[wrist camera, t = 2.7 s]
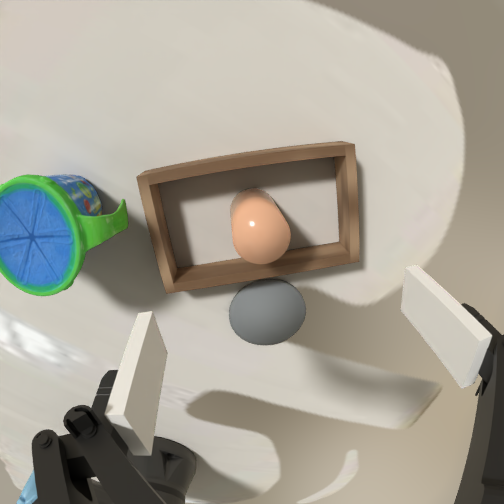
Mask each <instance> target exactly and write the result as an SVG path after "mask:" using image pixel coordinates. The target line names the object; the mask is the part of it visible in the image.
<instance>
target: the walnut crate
mask: <svg viewBox="0 0 504 504" xmlns="http://www.w3.org/2000/svg"><path fill="white" fill-rule="evenodd" d="M325 157H334V162H335V175H336V188H337V204H338V222H339V242H335V243H329V244H323V245H317V246H311V247H305V248H299V249H293V250H287V251H285V253H284V254H283V255H282V256H281V257H280V258H278V259H277V260H275V261H273V262H270V263H267V264H254V263H251V262H248V261H246V260H245V259H243V258H238V259H232V260H226V261H220V262H214V263H207V264H201V265H195V266H189V267H183V268H177V265H176V261H175V257H174V253H173V249H172V245H171V241H170V237H169V232H168V228H167V224H166V220H165V215H164V211H163V206H162V202H161V197H160V192H159V188H158V183H162V182H167V181H172V180H177V179H183V178H188V177H193V176H199V175H204V174H210V173H216V172H222V171H228V170H234V169H240V168H247V167H253V166H260V165H267V164H275V163H282V162H290V161H298V160H307V159H316V158H325ZM137 182H138V186H139V191H140V195H141V200H142V204H143V208H144V213H145V217H146V221H147V225H148V229H149V233H150V237H151V241H152V244H153V248H154V252H155V256H156V259H157V263H158V267H159V270H160V274H161V277H162V281H163V284H164V288H165V291H166V294H167V293H174V292H181V291H188V290H194V289H201V288H207V287H213V286H220V285H226V284H232V283H239V282H245V281H251V280H257V279H263V278H269V277H275V276H281V275H287V274H292V273H298V272H304V271H310V270H315V269H321V268H326V267H332V266H338V265H343V264H348V263H354V262H359V208H358V185H357V168H356V154H355V144H352V143H347V142H343V141H339V142H328V143H317V144H307V145H298V146H289V147H281V148H273V149H265V150H258V151H251V152H244V153H238V154H231V155H225V156H219V157H213V158H207V159H202V160H196V161H191V162H186V163H180V164H175V165H170V166H166V167H161V168H156V169H151V170H147V171H144V172H143V173H141V174H140V175H138V176H137Z"/></svg>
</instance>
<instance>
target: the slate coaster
mask: <svg viewBox="0 0 504 504" xmlns="http://www.w3.org/2000/svg"><path fill="white" fill-rule="evenodd" d="M305 314H306V307H305V302H304V299H303V297H302V295H301V294H300V292H299V291H298V290H297V289H296V288H295V287H294V286H293V285H291V284H289V283H287V282H285V281H282V280H278V279H263V280H258V281H255V282H252V283H250V284H248V285H247V286H245V287H244V288H242V289H241V290H240V291H239V292H238V293H237V294H236V295H235V297H234V298H233V300H232V302H231V305H230V309H229V319H230V324H231V326H232V328H233V330H234V332H235V333H236V334H237V335H238V336H239V337H240V338H242V339H243V340H245V341H247V342H249V343H252V344H257V345H272V344H277V343H280V342H282V341H285V340H286V339H288V338H290V337H291V336H293V335H294V334H295V333H296V332H297V331H298V330H299V328H300V327H301V325H302V323H303V321H304V319H305Z"/></svg>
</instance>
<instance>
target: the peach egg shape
mask: <svg viewBox="0 0 504 504" xmlns="http://www.w3.org/2000/svg"><path fill="white" fill-rule="evenodd" d="M230 214H231V225H232V236H233V244H234V247H235V249H236V251H237V253H238V254H239V255H240V256H241V257H242V258H243V259H245V260H246V261H248V262H251V263H254V264H267V263H270V262H273V261H275V260H277V259H278V258H280V257H281V256H282V255H283V254H284V253H285V251H286V250H287V248H288V246H289V244H290V239H291V232H290V228H289V225H288V223H287V222H286V220H285V218H284V217H283V215H282V214H281V212H280V210H279V209H278V207H277V205H276V204H275V202H274V201H273V199H272V198H271V196H270V195H269V194H268V193H266V192H265V191H263V190H260V189H256V188H251V189H246V190H244V191H242V192H240V193H239V194H238V195H236V197H235V198H234V199H233V201H232V204H231V208H230Z"/></svg>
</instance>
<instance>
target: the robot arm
mask: <svg viewBox="0 0 504 504" xmlns="http://www.w3.org/2000/svg"><path fill="white" fill-rule="evenodd" d="M401 311H402V313H403V314H404V315H405V316H406V317H407V319H408V320H409V321H410V322H411V324H412V325H413V326H414V327H415V329H416V330H417V331H418V332H419V334H420V335H421V336H422V337H423V338H424V340H425V341H426V342H427V344H428V345H429V346H430V348H431V349H432V350H433V351H434V353H435V354H436V355H437V357H438V358H439V359H440V361H441V362H442V363H443V365H444V366H445V367H446V368H447V370H448V371H449V373H450V374H451V375H452V376H453V378H454V379H455V381H456V382H457V383H458V385H459V386H460V387H461V389H463V388H465V387H467V386H470V385H472V384H474V383H475V380H476V378H477V376H478V374H479V375H480V376H481V377H482V381H481V383H480V385H479V387H478V390H477V392H476V394H475V395H476V396H477V395H478V393H479V398H478V405H477V411H476V417H475V423H474V428H473V434H472V439H471V443H470V448H469V453H468V457H467V461H466V465H465V469H464V472H463V476H462V480H461V483H460V487H459V490H458V493H457V496H456V499H455V503H454V504H504V335H501V334H500V333H499V332H498V331H497V330H496V329H495V328H494V327H493V326H492V325H491V324H490V323H489V322H488V321H487V320H485V319H484V317H483V316H482V315H480V314H479V313H478V312H477V311H476V310H475V309H474V308H473V307H471V306H469V305H467V304H465V303H464V304H460V303H458V301H456V300H455V299H454V298H453V297H452V296H451V295H450V294H449V293H448V292H447V291H446V290H445V289H443V288H442V287H441V286H440V285H439V284H438V283H437V282H436V281H435V280H433V279H432V278H431V277H430V276H429V275H428V274H427V273H426V272H424V271H423V270H422V269H421V268H420V267H419V266H417V265H413V266H409V267H405V273H404V284H403V294H402V304H401ZM167 354H168V353H167V350H166V347H165V345H164V342H163V339H162V336H161V334H160V331H159V328H158V325H157V322H156V320H155V317H154V314H153V311H150V312H142V313H138V316H137V318H136V321H135V324H134V327H133V329H132V332H131V335H130V338H129V341H128V343H127V346H126V349H125V352H124V355H123V358H122V361H121V364H120V367H119V370H109V371H108V372H107V373H106V374H105V375H104V377H103V378H102V380H101V382H100V385H99V389H98V391H97V396H95V399H94V402H93V405H92V408H90V407H89V406H86V405H78V406H76V407H73V408H72V409H70V410H69V411H68V412H67V413H66V415H65V417H64V420H63V422H64V426H65V427H66V429H67V430H68V431H69V432H70V434H67V435H62V436H58V435H57V434H56V433H55V432H54V431H53V430H49V429H48V430H43V431H41V432H39V433H38V434H36V435H35V437H34V439H33V440H32V456H33V466H34V470H33V472H32V474H31V476H30V477H29V479H28V481H27V483H26V485H25V487H24V489H23V491H22V493H21V495H20V497H19V499H18V501H17V503H16V504H185V495H186V492H187V490H188V488H189V485H190V483H191V481H192V479H193V476H194V474H195V471H196V458H195V456H194V454H193V453H192V452H191V451H190V450H188V449H187V448H186V447H184V446H182V445H180V444H178V443H176V442H173V441H170V440H167V439H164V438H159V437H154V432H155V425H156V419H157V412H158V406H159V400H160V394H161V388H162V382H163V376H164V370H165V365H166V359H167ZM96 476H97V478H98V480H99V481H100V482H97V481H95V480H93V479H91V477H96Z"/></svg>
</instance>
